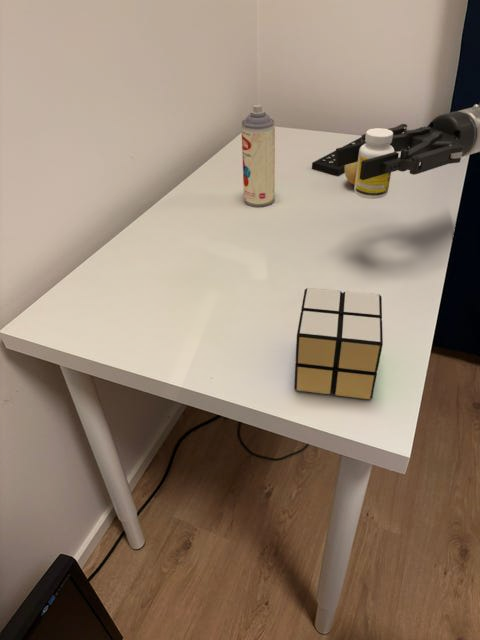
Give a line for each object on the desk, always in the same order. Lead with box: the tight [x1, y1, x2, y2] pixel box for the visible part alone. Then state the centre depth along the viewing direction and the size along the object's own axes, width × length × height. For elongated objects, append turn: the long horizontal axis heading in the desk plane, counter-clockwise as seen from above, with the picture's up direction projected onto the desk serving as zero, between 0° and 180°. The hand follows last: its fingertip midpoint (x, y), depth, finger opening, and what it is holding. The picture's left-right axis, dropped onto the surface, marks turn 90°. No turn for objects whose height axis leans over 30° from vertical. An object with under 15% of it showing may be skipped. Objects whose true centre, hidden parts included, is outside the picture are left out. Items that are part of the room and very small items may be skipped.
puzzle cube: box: [293, 287, 384, 400], centre depth 63 cm, size 10×10×10 cm
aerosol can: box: [240, 104, 276, 208], centre depth 102 cm, size 7×7×20 cm
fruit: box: [344, 162, 358, 186], centre depth 109 cm, size 8×8×8 cm
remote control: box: [311, 136, 362, 177], centre depth 126 cm, size 8×32×2 cm, turn 137°
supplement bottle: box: [353, 127, 394, 200], centre depth 76 cm, size 5×5×10 cm
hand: (349, 164), depth 74 cm, fingers closed on supplement bottle, 5 cm apart
